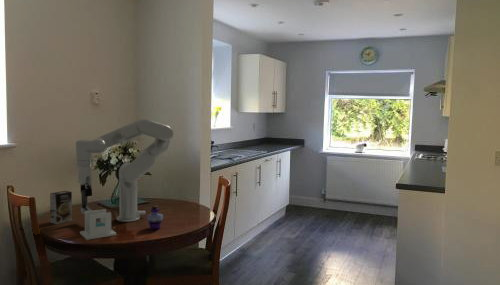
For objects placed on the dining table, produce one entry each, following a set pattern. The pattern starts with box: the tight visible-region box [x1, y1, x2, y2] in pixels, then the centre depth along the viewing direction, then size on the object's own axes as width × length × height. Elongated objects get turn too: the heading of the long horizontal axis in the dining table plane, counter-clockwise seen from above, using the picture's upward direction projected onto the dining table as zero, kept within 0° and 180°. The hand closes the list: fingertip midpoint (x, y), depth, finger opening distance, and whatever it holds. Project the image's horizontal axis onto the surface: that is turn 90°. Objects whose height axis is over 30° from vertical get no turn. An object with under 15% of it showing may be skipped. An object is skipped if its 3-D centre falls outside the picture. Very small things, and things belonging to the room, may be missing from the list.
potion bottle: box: [146, 205, 164, 231], centre depth 209 cm, size 9×9×12 cm
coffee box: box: [49, 190, 73, 225], centre depth 219 cm, size 9×6×16 cm
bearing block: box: [79, 208, 117, 241], centre depth 198 cm, size 14×12×11 cm
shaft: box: [80, 190, 99, 222], centre depth 210 cm, size 3×22×12 cm, turn 36°
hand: (86, 194), depth 218 cm, fingers open, 9 cm apart
